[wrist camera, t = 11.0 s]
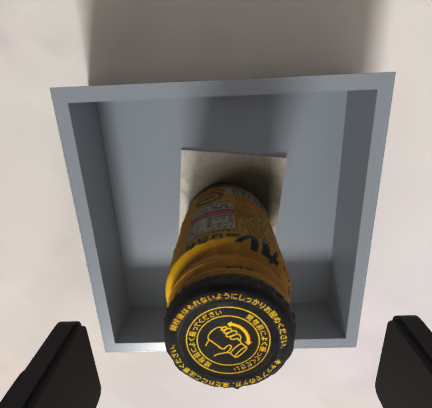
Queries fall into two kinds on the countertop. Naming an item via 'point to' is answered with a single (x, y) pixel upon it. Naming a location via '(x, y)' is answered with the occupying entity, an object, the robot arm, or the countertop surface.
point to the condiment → (229, 272)
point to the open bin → (170, 184)
